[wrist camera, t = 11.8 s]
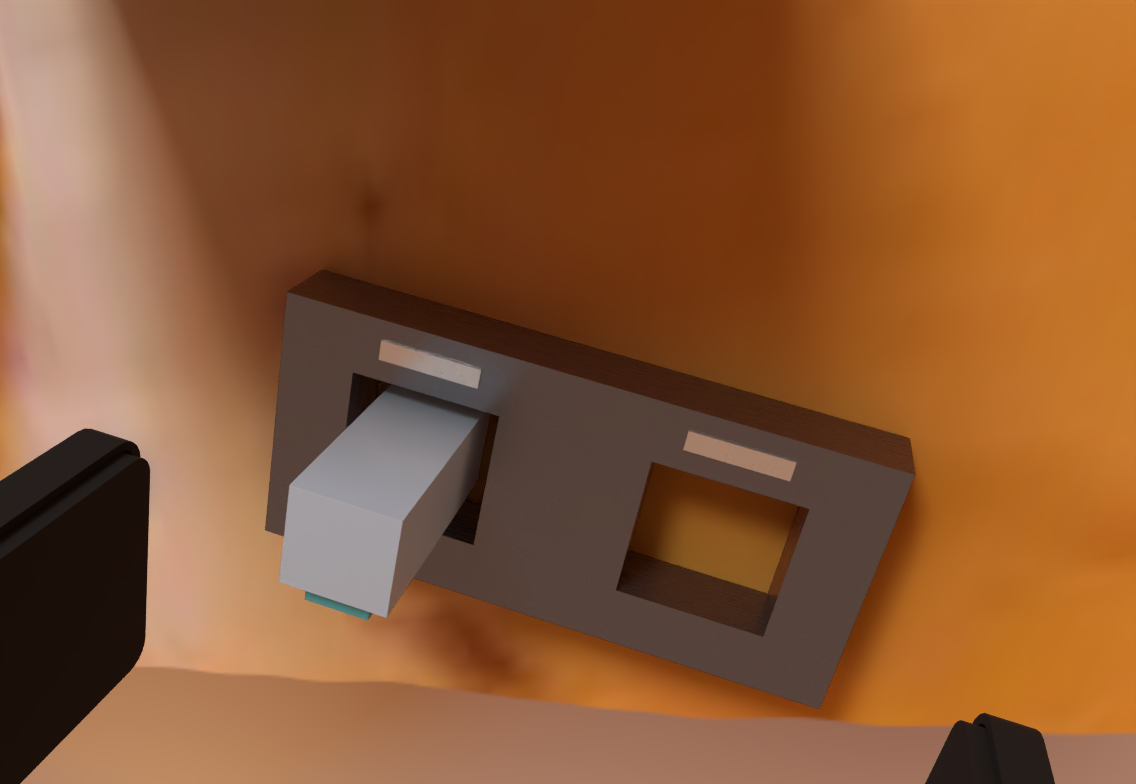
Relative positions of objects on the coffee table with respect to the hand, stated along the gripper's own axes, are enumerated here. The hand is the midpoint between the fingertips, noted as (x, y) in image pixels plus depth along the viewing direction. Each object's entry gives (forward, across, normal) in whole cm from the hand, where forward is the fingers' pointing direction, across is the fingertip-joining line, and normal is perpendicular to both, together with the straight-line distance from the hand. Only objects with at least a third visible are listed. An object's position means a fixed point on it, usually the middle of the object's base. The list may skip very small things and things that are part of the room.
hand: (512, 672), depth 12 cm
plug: (+28, +9, +13) cm, 33 cm away
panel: (+28, +3, +14) cm, 31 cm away
